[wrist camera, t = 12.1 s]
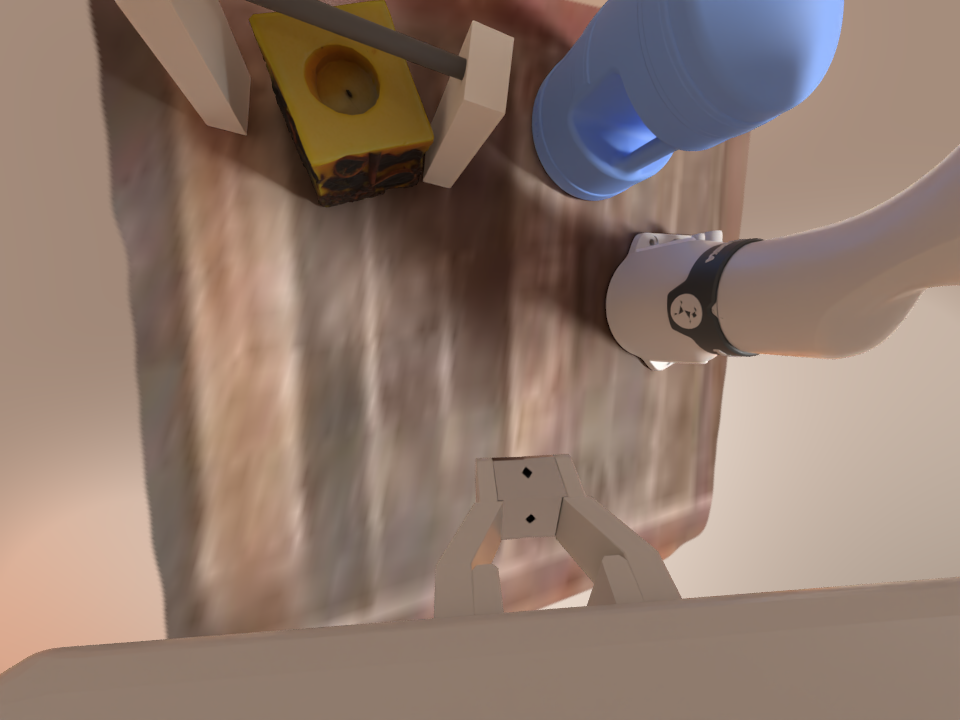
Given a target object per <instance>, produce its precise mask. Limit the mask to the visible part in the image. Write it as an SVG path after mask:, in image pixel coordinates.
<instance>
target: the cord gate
mask: <svg viewBox="0 0 960 720" xmlns="http://www.w3.org/2000/svg"><path fill="white" fill-rule="evenodd" d="M114 1H115V2H116V3H117V5H118V6H119V7H120V9H121V10H122V12H123V13H124V14H125V16H126V17H127V18H128V20H129V21H130V22H131V24H132V25H133V26H134V28H135V29H136V30H137V32H138V33H139V34H140V36H141V37H142V38H143V40H144V41H145V42H146V44H147V45H148V46H149V48H150V49H151V51H152V52H153V53H154V55H155V56H156V57H157V59H158V60H159V61H160V63H161V64H162V65H163V67H164V68H165V69H166V71H167V72H168V73H169V75H170V76H171V77H172V79H173V80H174V81H175V83H176V84H177V86H178V87H179V88H180V90H181V91H182V92H183V94H184V95H185V96H186V98H187V99H188V100H189V102H190V103H191V104H192V106H193V107H194V108H195V110H196V111H197V112H198V114H199V115H200V116H201V118H202V119H203V121H204V122H205V123H206V125H207V126H211V127H215V128H219V129H223V130H227V131H231V132H234V133H238V134H242V135H246V136H247V127H248V113H249V99H250V85H251V77H250V74H249V72H248V69H247V67H246V65H245V62H244V60H243V57H242V55H241V53H240V50H239V48H238V45H237V43H236V41H235V38H234V36H233V33H232V31H231V29H230V26H229V24H228V21H227V19H226V17H225V14H224V12H223V9H222V7H221V5H220V2H219V0H114ZM246 1H249V2H252V3H254V4H257V5H260V6H262V7H265V8H268V9H270V10H273V11H276V12H279V13H281V14H284V15H287V16H289V17H292V18H295V19H297V20H300V21H303V22H305V23H308V24H311V25H314V26H316V27H319V28H322V29H324V30H327V31H330V32H332V33H335V34H338V35H340V36H343V37H346V38H349V39H351V40H354V41H357V42H359V43H362V44H365V45H367V46H370V47H373V48H376V49H378V50H381V51H384V52H386V53H389V54H392V55H394V56H397V57H400V58H402V59H405V60H408V61H411V62H413V63H416V64H419V65H421V66H424V67H427V68H429V69H432V70H435V71H437V72H440V73H443V74H446V75H448V76H450V78H449V80H448V83H447V85H446V88H445V90H444V93H443V95H442V98H441V100H440V103H439V105H438V108H437V110H436V113H435V115H434V118H433V120H432V123H431V128H432V131H433V134H434V142H433V144H432V145H431V146H430V147H429V150H428V151H426V153H425V163H424V172H423V182H427V183H430V184H434V185H438V186H442V187H446V188H451V187H452V185H453V184H454V182H455V181H456V180H457V178H458V177H459V176H460V174H461V173H462V172H463V170H464V169H465V168H466V166H467V165H468V164H469V162H470V161H471V159H472V158H473V157H474V155H475V154H476V153H477V151H478V150H479V149H480V147H481V146H482V145H483V143H484V142H485V141H486V139H487V138H488V137H489V135H490V134H491V132H492V131H493V130H494V128H495V127H496V126H497V124H498V123H499V122H500V120H501V119H502V118H503V116H504V115H505V111H506V103H507V94H508V86H509V77H510V69H511V60H512V52H513V43H514V38H513V37H511V36H508V35H506V34H504V33H502V32H499V31H497V30H495V29H492V28H490V27H488V26H485V25H483V24H481V23H479V22H476V21H474V20H472V23H471V25H470V28H469V30H468V33H467V35H466V38H465V40H464V43H463V45H462V48H461V50H460V53H459V55H455V54H452V53H450V52H447V51H445V50H442V49H440V48H437V47H435V46H432V45H430V44H427V43H425V42H422V41H420V40H417V39H414V38H412V37H409V36H407V35H404V34H402V33H399V32H397V31H394V30H392V29H389V28H387V27H384V26H382V25H379V24H376V23H374V22H371V21H369V20H366V19H364V18H361V17H359V16H356V15H354V14H351V13H349V12H346V11H343V10H341V9H338V8H336V7H333V6H331V5H328V4H326V3H323V2H321V1H318V0H246Z"/></svg>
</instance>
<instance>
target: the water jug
mask: <svg viewBox="0 0 960 720" xmlns="http://www.w3.org/2000/svg"><path fill="white" fill-rule="evenodd" d="M843 8H844V0H608V1H607V2H606V3H605V4H604V5H603V6H602V8H601V9H600V10H599V11H598V13H597V14H596V15H595V16H594V18H593V19H592V20H591V21H590V23H589V24H588V26H587V27H586V29H585V30H584V32H583V34H582V35H581V37H580V38H579V39H578V40H577V42H576V43H575V44H574V45H573V47H572V48H571V49H570V50H569V51H568V53H567V54H566V55H565V56H564V58H563V59H562V60H561V61H560V62H558V63H557V64H556V65H555V67H554V68H553V69H552V70H551V72H550V73H549V74H548V75H547V77H546V78H545V79H544V81H543V83H542V84H541V86H540V88H539V90H538V93H537V96H536V99H535V102H534V107H533V113H532V133H533V140H534V144H535V148H536V151H537V154H538V157H539V159H540V161H541V164H542V165H543V167H544V169H545V171H546V172H547V174H548V175H549V176H550V178H551V179H552V180H553V181H554V182H555V183H556V184H557V185H558V186H559V187H560V188H561V189H563V190H564V191H565V192H567V193H569V194H570V195H572V196H574V197H577V198H580V199H584V200H590V201H597V200H604V199H607V198H610V197H613V196H615V195H617V194H619V193H621V192H623V191H625V190H626V189H628V188H629V187H631V186H633V185H635V184H637V183H639V182H641V181H643V180H645V179H647V178H649V177H651V176H653V175H654V174H656V173H657V172H658V171H659V170H661V169H662V168H663V167H664V165H665V164H666V163H667V162H668V160H669V159H670V157H671V156H672V154H673V152H674V151H676V150H684V151H701V150H705V149H709V148H711V147H713V146H716V145H718V144H720V143H722V142H724V141H726V140H728V139H730V138H733V137H736V136H739V135H742V134H744V133H747V132H749V131H751V130H753V129H755V128H757V127H759V126H761V125H763V124H765V123H767V122H769V121H771V120H772V119H774V118H776V117H777V116H779V115H780V114H782V113H784V112H786V111H788V110H790V109H792V108H793V107H795V106H797V105H798V104H800V103H801V102H802V101H804V100H805V99H806V98H807V97H808V96H809V95H810V94H811V93H812V92H813V91H814V90H815V88H816V87H817V86H818V85H819V83H820V82H821V80H822V79H823V77H824V75H825V74H826V72H827V70H828V68H829V66H830V64H831V62H832V59H833V57H834V54H835V51H836V48H837V44H838V40H839V36H840V32H841V26H842V19H843Z"/></svg>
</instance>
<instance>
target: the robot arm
mask: <svg viewBox="0 0 960 720" xmlns="http://www.w3.org/2000/svg"><path fill="white" fill-rule="evenodd" d="M649 241H650V244H649ZM950 285H960V144H959V145H958V146H957V147H956V148H955V149H954V150H953V151H952V152H951V153H949V154H948V155H947V156H946V157H945V158H944V159H943V160H942V161H941V162H940V163H939V164H937V165H936V166H935V167H934V168H933V169H931V170H930V171H929V172H928V173H926V174H925V175H924V176H923V177H922V178H920V179H919V180H917V181H916V182H915V183H913V184H912V185H910V186H909V187H908V188H906V189H905V190H903V191H902V192H900V193H898V194H897V195H895V196H893V197H892V198H890V199H888V200H886V201H885V202H883V203H881V204H879V205H877V206H875V207H874V208H872V209H869V210H867V211H865V212H863V213H861V214H858V215H856V216H853V217H851V218H848V219H845V220H843V221H840V222H836V223H833V224H829V225H826V226H822V227H819V228H815V229H811V230H807V231H803V232H800V233H796V234H791V235H786V236H782V237H778V238H773V239H768V240H763V239H758V238H754V239H739V240H734V241H729V242H727V243H723V241H722V231H710V232H705V233H702V234H695V235H692V236H690V235H674V234H659V233H640V234H637V235H636V236H635V238H634V239H633V242H632V244H631V247H630V250H629V253H628V255H627V257H626V258H625V260H624V261H623V262H622V263H621V264H620V265H619V267H618V268H617V270H616V271H615V273H614V275H613V277H612V279H611V281H610V284H609V287H608V291H607V298H606V314H607V320H608V324H609V327H610V330H611V332H612V334H613V336H614V338H615V339H616V341H617V342H618V343H619V344H620V346H621V347H623V348H624V349H625V350H626V351H628V352H629V353H631V354H634V355H636V356H638V357H640V358H641V359H643V361H644V362H645V363H646V364H647V366H648V367H649V368H650V369H652V370H654V371H662V370H664V369H665V368H667V367H669V366H670V365H672V364H674V363H688V364H705V363H707V362H708V360H711V359H713V358H714V357H716V356H717V355H723V356H729V357H742V356H746V357H747V356H749V357H750V356H756V355H759V354H770V355H782V356H795V357H807V358H819V359H840V358H846V357H851V356H855V355H859V354H861V353H864V352H867V351H869V350H871V349H873V348H875V347H876V346H878V345H880V344H881V343H883V342H884V341H885V340H886V339H888V338H889V337H890V336H891V335H892V334H893V333H894V332H895V331H896V330H897V328H898V327H899V326H900V325H901V324H902V322H903V321H904V320H905V319H906V317H907V316H908V315H909V313H910V312H911V310H912V309H913V307H914V306H915V304H916V303H917V301H918V299H919V298H920V296H921V295H922V293H923V292H924V291H925V290H926V289H927V288H930V287H938V286H950ZM475 484H476V503H474V505H473V506H472V508H471V510H470V511H469V513H468V514H467V516H466V518H465V519H464V521H463V523H462V524H461V526H460V527H459V529H458V531H457V532H456V534H455V536H454V537H453V539H452V540H451V542H450V544H449V545H448V547H447V549H446V550H445V552H444V553H443V555H442V557H441V558H440V560H439V562H438V563H437V565H436V571H435V598H434V618H432V619H420V620H407V621H394V622H382V623H369V624H357V625H344V626H331V627H319V628H306V629H293V630H280V631H268V632H255V633H242V634H229V635H217V636H204V637H191V638H178V639H165V640H152V641H141V642H127V643H114V644H101V645H87V646H74V647H61V648H53V649H48V650H44V651H41V652H38V653H35V654H33V655H31V656H29V657H27V658H26V659H24V660H22V661H21V662H19V663H17V664H16V665H14V666H12V667H11V668H9V669H8V670H6V671H4V672H3V673H1V674H0V720H960V577H951V578H938V579H926V580H914V581H900V582H888V583H875V584H862V585H850V586H837V587H824V588H813V589H799V590H787V591H774V592H761V593H750V594H736V595H724V596H711V597H699V598H687V599H682V598H681V596H680V594H679V592H678V590H677V588H676V586H675V584H674V582H673V580H672V578H671V576H670V574H669V572H668V570H667V568H666V566H665V564H664V562H663V560H662V558H661V556H660V554H659V552H658V551H657V550H656V549H655V548H653V547H652V546H651V545H650V544H648V543H647V542H646V541H645V540H644V539H642V538H641V537H640V536H639V535H638V534H636V533H635V532H634V531H633V530H632V529H630V528H629V527H628V526H627V525H625V524H624V523H623V522H622V521H621V520H619V519H618V518H617V517H616V516H615V515H613V514H612V513H611V512H610V511H608V510H607V509H606V508H605V507H604V506H602V505H601V504H600V503H599V502H598V501H596V500H595V499H594V498H593V497H591V496H586V494H585V492H584V489H583V487H582V484H581V482H580V479H579V476H578V474H577V471H576V469H575V466H574V464H573V461H572V459H571V456H570V455H569V454H558V455H540V456H524V457H501V458H476V472H475ZM529 537H556V539H557V540H558V541H559V543H560V544H561V545H562V546H563V547H564V549H565V550H566V551H567V552H568V553H569V554H570V556H571V557H572V558H573V559H574V560H575V562H576V563H577V564H578V565H579V566H580V567H581V569H582V570H583V571H584V572H585V573H586V575H587V576H588V577H589V578H590V579H591V580H592V582H593V583H594V586H593V589H592V592H591V595H590V598H589V601H588V604H587V606H584V607H571V608H559V609H546V610H533V611H521V612H508V613H504V611H503V603H502V595H501V587H500V579H499V571H498V568H497V567H496V566H495V565H493V564H492V562H493V559H494V557H495V555H496V553H497V550H498V548H499V546H500V543H501V540H507V539H518V538H529Z"/></svg>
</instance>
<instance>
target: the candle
mask: <svg viewBox="0 0 960 720" xmlns="http://www.w3.org/2000/svg"><path fill="white" fill-rule="evenodd" d="M333 7H336V8H338V9H341V10H343V11H346V12H349V13H351V14H354V15H356V16H359V17H361V18H364V19H366V20H369V21H371V22H374V23H376V24H379V25H382V26H384V27H387V28H389V29H392V30H394V31H395V28H394V24H393V21H392V18H391V15H390V12H389V10H388V7H387V5H386V2H385V0H377V1H367V2H360V3H352V4H346V5H340V6H333ZM249 21H250V24H251V27H252V29H253V32H254V35H255V38H256V40H257V43H258V45H259V48H260V50H261V53H262V55H263V59H264V61H265V62H266V67H267V69H268V71H269V73H270V77H271V80H272V88H273V92H274V93H275V95H276V100H277V104H278V105H279V107H280V109H281V112H282V114H283V117H284V118H285V120H286V123H287V127H288V129H289V131H290V133H291V135H292V139H293V140H294V143H295V145H296V147H297V151H298V153H299V155H300V158H301V160H302V161H303V166H305V167H306V169H307V171H308V174H309V176H310V178H311V181H312V184H313V186H314V188H315V191H316V193H317V196H318V202H319V203H320V204H321V205H322V206H323V207H331V206H335V205H338V204H343V203H346V202H353V201H358V200H362V199H364V198H368V197H374V196H378V194H379V193H380V194H384V193H385V190H386V189H388V188H397V187H408V186H413V185H416V184H417V182H418V180H419V177H420V174H421V171H422V164H423V163H422V159H423V158H422V157H423V155H424V153H425V152H426V151H428V150H429V147H430V146H431V145H432V144H433V142H434V134H433V131H432V128H431V125H430V123H429V120H428V118H427V115H426V113H425V110H424V107H423V105H422V102H421V99H420V97H419V94H418V92H417V89H416V87H415V84H414V81H413V78H412V76H411V73H410V70H409V68H408V65H407V62H406V60H405V59H402V58H400V57H397V56H394V55H392V54H389V53H386V52H384V51H381V50H378V49H376V48H373V47H370V46H367V45H365V44H362V43H359V42H357V41H354V40H351V39H349V38H346V37H343V36H340V35H338V34H335V33H332V32H330V31H327V30H324V29H322V28H319V27H316V26H314V25H311V24H308V23H305V22H303V21H300V20H297V19H295V18H292V17H289V16H287V15H284V14H281V13H279V12H272V13H262V14H253V15H252V16H251V17H250V18H249Z"/></svg>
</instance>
